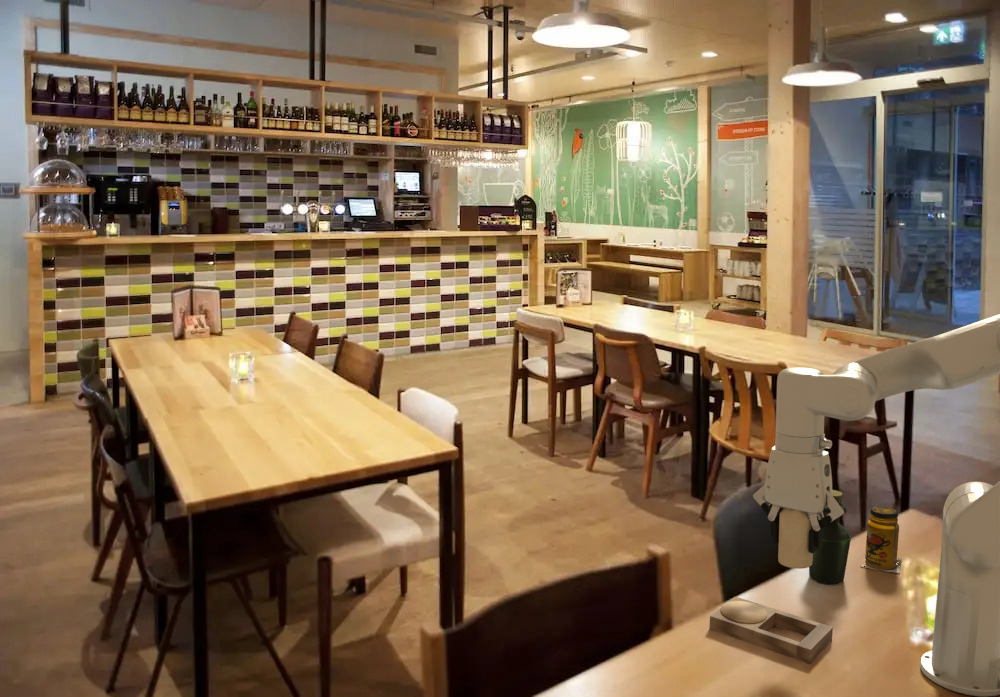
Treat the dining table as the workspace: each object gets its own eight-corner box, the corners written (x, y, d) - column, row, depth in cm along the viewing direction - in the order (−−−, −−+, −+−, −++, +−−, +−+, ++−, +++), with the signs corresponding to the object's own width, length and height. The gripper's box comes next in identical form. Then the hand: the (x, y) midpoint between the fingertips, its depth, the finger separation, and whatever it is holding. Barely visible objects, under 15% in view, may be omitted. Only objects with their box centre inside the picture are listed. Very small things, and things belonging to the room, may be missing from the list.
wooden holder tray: (832, 640, 149) (833, 625, 148) (809, 663, 141) (810, 648, 141) (734, 609, 160) (735, 595, 160) (709, 629, 153) (710, 614, 152)
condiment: (860, 567, 179) (864, 512, 177) (864, 553, 186) (868, 500, 184) (899, 574, 175) (903, 518, 173) (901, 559, 183) (906, 505, 181)
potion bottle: (846, 572, 176) (852, 488, 173) (850, 589, 168) (856, 501, 165) (804, 567, 178) (809, 484, 175) (806, 584, 171) (811, 497, 168)
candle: (814, 570, 143) (816, 512, 141) (780, 568, 144) (781, 510, 142) (809, 557, 148) (811, 501, 147) (776, 555, 149) (778, 499, 148)
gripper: (860, 445, 140) (855, 551, 143) (759, 430, 151) (757, 528, 154) (843, 456, 135) (839, 566, 137) (740, 439, 146) (738, 541, 148)
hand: (795, 545), depth 146 cm, fingers closed on candle, 5 cm apart
